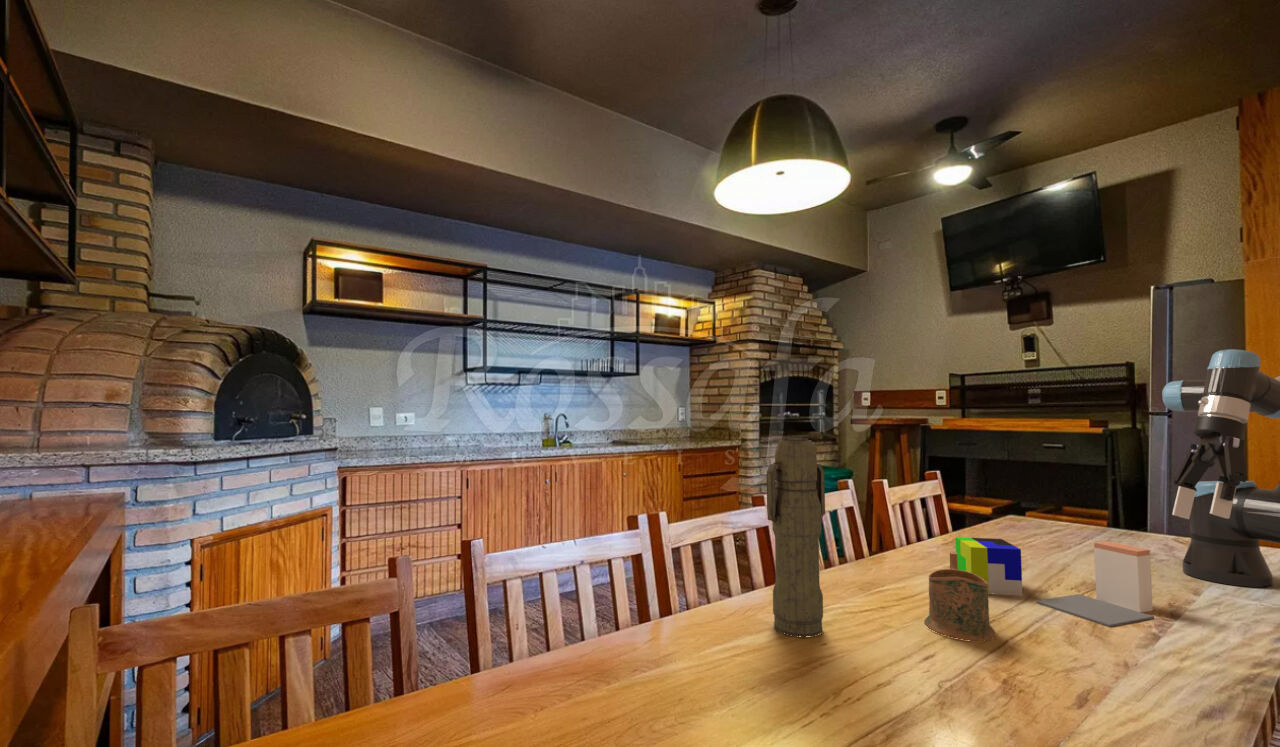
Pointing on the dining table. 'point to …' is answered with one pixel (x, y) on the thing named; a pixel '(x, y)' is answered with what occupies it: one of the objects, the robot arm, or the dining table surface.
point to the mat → (1095, 610)
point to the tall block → (1123, 575)
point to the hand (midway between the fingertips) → (1198, 516)
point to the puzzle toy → (992, 563)
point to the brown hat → (959, 604)
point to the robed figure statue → (796, 536)
